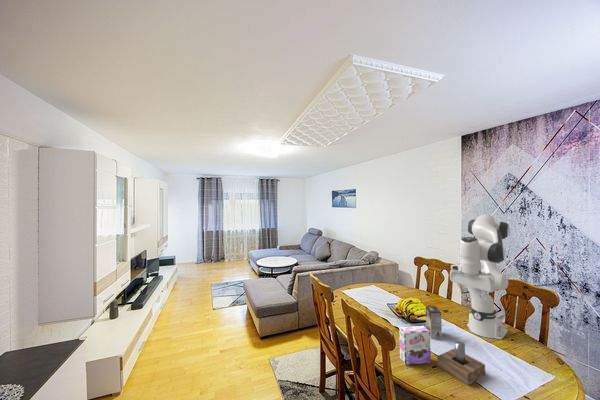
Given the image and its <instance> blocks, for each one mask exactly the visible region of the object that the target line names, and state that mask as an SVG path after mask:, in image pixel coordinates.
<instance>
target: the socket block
mask: <svg viewBox="0 0 600 400" xmlns="http://www.w3.org/2000/svg"><path fill="white" fill-rule="evenodd" d="M436 358H437V359H436V360H437V361H436V362H437V363H436V364H437V367H438V368H439V369H441V370H442V371H443V372H445V373H447V374H449V376H452V377H453V378H455V379H457V380H458V381H460V382H461V383H462V384H464V385H466V386H469V385H472V384H473V383H475V382H477V381H478V380H480V379H482V378H483V377H485V376H486V364H485V363H483V362H481V361H479V360H477V359H475V358H474V357H471V356H470V355H468V354H466V353H465V362H466V364H465V365H461V364H459V363H458V362H456V360H455V347H454V348H452V349H450V350H448V351H445V352H443V353H441V354H439V355H437V356H436Z"/></svg>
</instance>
